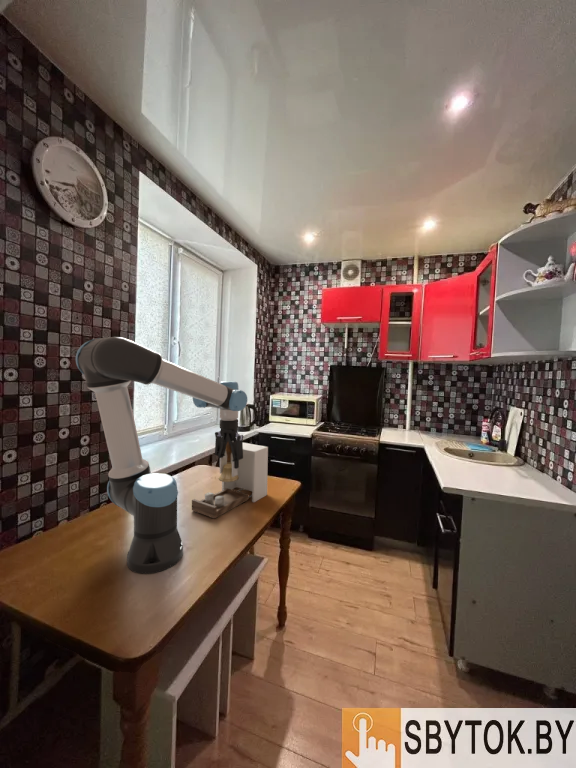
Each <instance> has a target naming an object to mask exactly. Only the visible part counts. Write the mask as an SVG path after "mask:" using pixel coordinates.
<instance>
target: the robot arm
mask: <svg viewBox="0 0 576 768" xmlns="http://www.w3.org/2000/svg"><path fill="white" fill-rule="evenodd" d="M75 354H76V355H75V364H76V367H77V369H78V370H79V371H80V373H81V374H83V375H84V378H85V379H84V380H85V384H86V386H87V387H86V388H87V389H88V390H90V391H92V392H94V395H95V398H96V404H97V408H98V411H99V415H100V420H101V425H102V428H103V432H104V437H105V442H106V446H107V449H108V453H109V454H108V455H109V459H110V463H111V466H112V467H111V469H110V470H109V471H108V474H107V475H108V476H107V477H108V479H109V480H108V481H107V485H106V493H107V496H108V498H109V499H110V501H111V502H112V503H113V505H115V506H117V507H119V508H121V509H123V510H124V511H126V512H127V513H128V514H130V515H132V516H133V537H132V540H131V543H130V547H129V550H128V552H127V557H126V562H127V563H126V566H127V568H128V569H129V570H130V571H132V572H134V573H137V574H154V573H157V572H162V571H165V570H167V569H169V568H171V567H173V566H174V565H176V564H177V563H178V562H179V561H181V559H182V558H183V554H184V545H183V541H182V538H181V535H180V532H179V530H178V496H179V490H178V484H177V480H176V478H175V477H173V476H171V475H170V474H167V473H160V472H151V467H150V463H149V461H148V460H146V459H143V455H142V449H141V445H140V440H139V437H138V431H137V427H136V422H135V421H136V420H135V417H134V416H135V415H134V412H133V407H132V403H131V397H130V394H129V389H128V386H129V385H130V384H131V382H136V383H138V384H139V383H140V384H143V385H145V386H148V385H151V384H153V385H156V386H160V387H162V388H165V389H167V390H171V391H173V392H176V393H180V394H183V395H185V396H188V397H190V398H192V401H193V404H194V406H195V407H197V408H199V409H200V408H204V409H205V408H213V409H219V418H220V419H219V429H220V430H219V431H215V432H214V437H215V444H214V445H215V447H214V455H215V456H218V457H217V458H218V465H219V474H220V475H221V474H222V472H223V466H224V465H226V457H223V456H225V455H224V454H225V450H226V445H227V442H229V444H230V446H231V451H232V455H233V460H232V477H234V476H236V475H237V474H238V467H239V460H240V459H243V443H244V442H243V440H244V435H243V434H239V431H238V428H239V420H238V418H239V412H240V411H241V412H242V411H243V410H244V409H245V408H246V407H247V404H248V395H247V393H246V392H245V390H242V389H239V383H238V382H237V381H233V380H232V381H231V380H229V381H228V380H226V381H225V380H224V381H220V382H217V381H214V380H212V379H210V378H207V377H205V376H204V375H201V374H200V373H196V372H194V371H193V370H190V369H186V368H185V367H182V366H180V365H179V364H178V365H177V364H175V363H173V362H171V361H169V360H166V359H164V358H163V357H162V356H163V355H162V354H160V353H159V352H156V351H154V350H152V349H150V348H148V347H146V346H144V345H141V344H140V343H137V342H135V341H133V340H130V339H128V338H125V337H121V336H112V337H111V336H110V337H97V338H92V339H91V340H88V341H86V342H84V343H83V344H82V345H80V347H79V348H78V349H77V351H76V353H75Z"/></svg>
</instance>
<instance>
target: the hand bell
mask: <svg viewBox="0 0 576 768" xmlns="http://www.w3.org/2000/svg"><path fill="white" fill-rule="evenodd" d="M226 453H227V464H226V465H224V466H223V472H222V474H220V475H219V476H218V478H217V479H218V481H220V482H222V481H223V482H233V481H236V480H238V479H239V477H238V475H236V476H234V477H232V464H231V453H232V451H231V446H230V444H229V442H227V445H226Z"/></svg>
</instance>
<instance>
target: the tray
mask: <svg viewBox="0 0 576 768" xmlns="http://www.w3.org/2000/svg"><path fill="white" fill-rule="evenodd" d="M248 496H249V493H245V492H241V491H239V492H238V490H235V489H228V488H227V489H224V490H222V489H221V490H220V491H218V492H215V493H213V492H206V493H204V498H203V499H200V500H198V499H195V498H194V499H192V500H191V511H192V512H195V513H196V512H197V513H199V514H202V515H204V516H207V517H212V518H211V519H216V518H218V517H220V516H222V515H223V514H225V513H227V512H229V511H231V510H232V509H234V508H237V506H239V505H241V504H243V503H245V502H247V501H248V500H249V498H248Z"/></svg>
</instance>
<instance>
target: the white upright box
mask: <svg viewBox="0 0 576 768" xmlns="http://www.w3.org/2000/svg"><path fill="white" fill-rule="evenodd" d="M224 455H225V456H223V457H226V464H227V453H226V450H225V454H224ZM268 457H269V446H266V445H258V444H253V443H248V442H243V459H240V460H239V467H238V474H237V475H238V477H239V479H238V480H236V481H233V482H223V481H221V491H222V490H224V489H227V488H228V489H231V490H234V489H235V488H238V490H237V491H238V492H241V491H243V490H245V491H250V492H252V493H251V494H250V495H248V499H249V498H251V502H252V503H256V502H257V501H259V500H261V499H263V498H264V497H266V496H267V495H268V471H269V470H268V467H269V466H268V463H269V460H268V459H269V458H268ZM232 460H233V455H232V453H231V464H232ZM195 513H198V512H195ZM210 519H213V518H212V517H210Z"/></svg>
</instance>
